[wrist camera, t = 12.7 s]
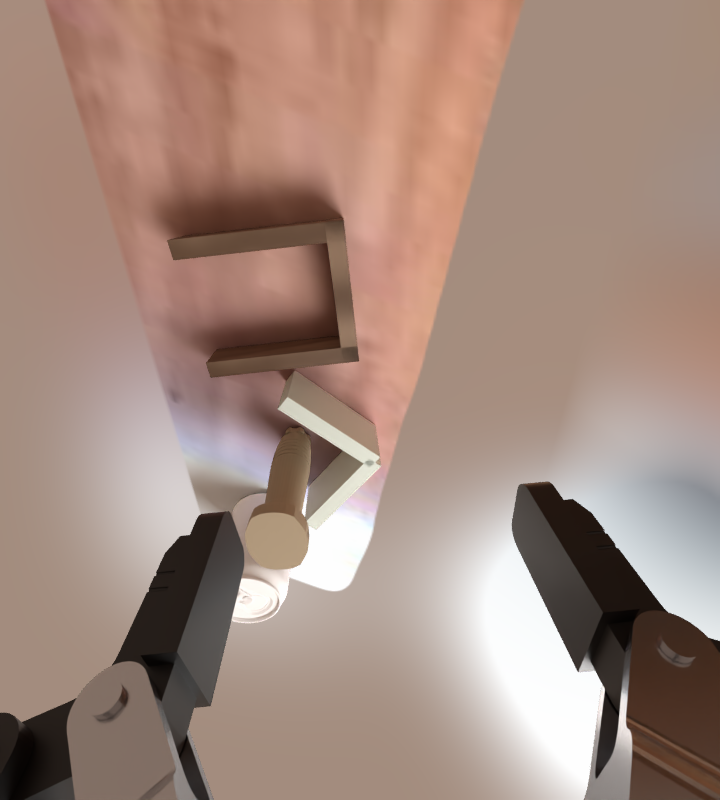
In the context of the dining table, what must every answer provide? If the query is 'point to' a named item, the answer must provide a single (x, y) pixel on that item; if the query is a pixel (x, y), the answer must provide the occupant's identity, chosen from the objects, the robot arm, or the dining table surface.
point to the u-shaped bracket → (291, 351)
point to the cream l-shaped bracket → (338, 429)
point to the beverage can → (256, 574)
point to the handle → (283, 507)
